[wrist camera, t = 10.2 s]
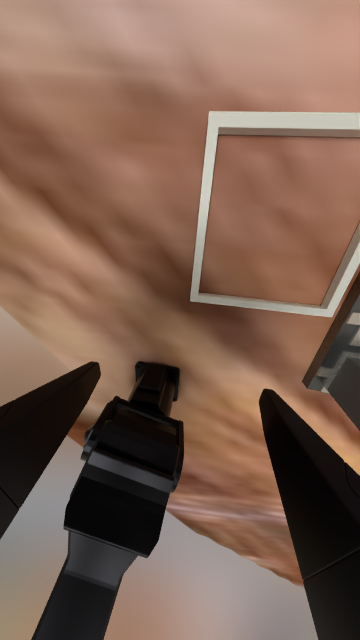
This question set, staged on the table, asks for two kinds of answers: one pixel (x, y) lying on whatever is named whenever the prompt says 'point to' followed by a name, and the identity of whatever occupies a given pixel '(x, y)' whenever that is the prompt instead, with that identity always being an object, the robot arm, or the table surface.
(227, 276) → the table surface
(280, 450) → the robot arm
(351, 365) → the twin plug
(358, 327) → the strip
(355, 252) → the white square frame
